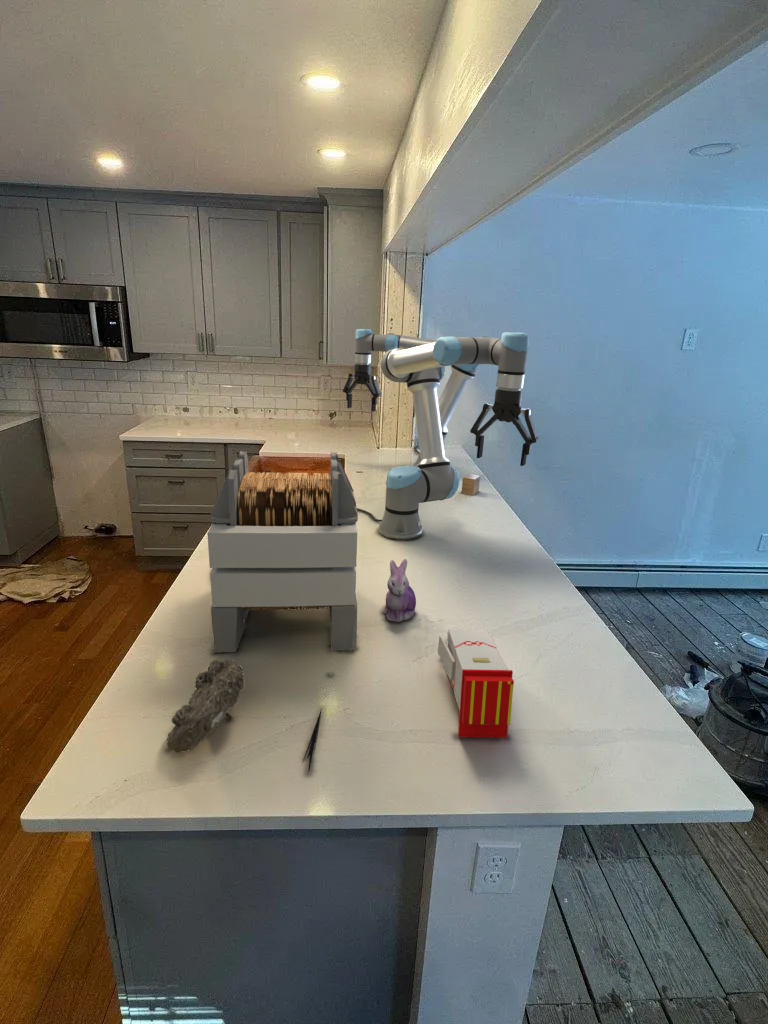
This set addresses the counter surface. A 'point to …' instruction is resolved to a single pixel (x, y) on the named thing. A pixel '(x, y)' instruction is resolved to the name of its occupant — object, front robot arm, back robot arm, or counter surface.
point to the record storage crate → (283, 549)
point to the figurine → (399, 594)
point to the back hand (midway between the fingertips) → (361, 409)
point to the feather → (313, 740)
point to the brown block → (470, 484)
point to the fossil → (206, 705)
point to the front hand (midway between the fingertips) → (500, 461)
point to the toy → (478, 682)
